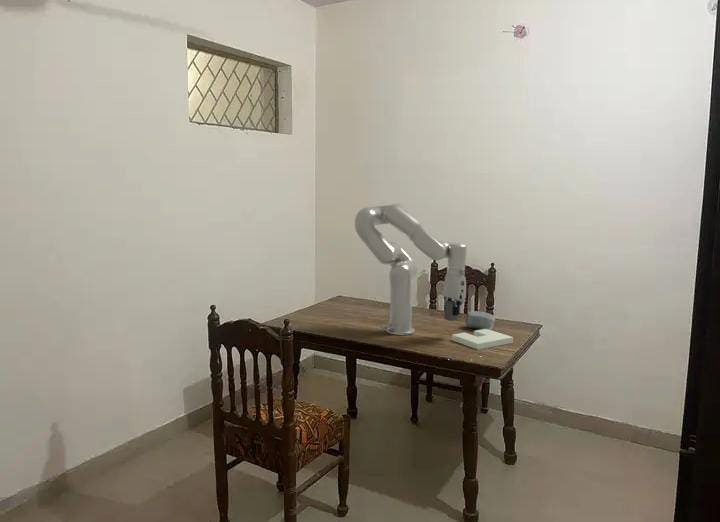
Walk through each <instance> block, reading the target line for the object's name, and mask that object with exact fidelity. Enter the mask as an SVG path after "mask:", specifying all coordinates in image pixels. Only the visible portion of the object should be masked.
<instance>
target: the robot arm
mask: <svg viewBox="0 0 720 522" xmlns="http://www.w3.org/2000/svg"><path fill="white" fill-rule="evenodd" d="M387 224H389V225H391V226H393V228H395V229H396V230H398V231H399V233H402V234H403V235H404V236H405V237H406V238H407V239H408V240H409V241H410V242H411V243H412V244H413V245H414V246H415V247H416V249H418V250H419V251H420V252H421V253H423V254H424V255H425V256H426V257H429V258H430V260H433V261H441V260H443V259H447V266H446V274H445V278H444V281H443V283H444V284H443V288H442V289H443V292H442V293H441V296H442V298H443V299H444V303H446V301H449V300H454V306H453V315H454V316H455V315H458V316H459V315H460V307H462V305H463V304H464V303H465V302H466V298H467V295H466V294H467V280H466V276H465V274H466V272H465V271H466V260H467V250H468V248H467V245H466V244H464V243H457V242H455V243H454V242H453V243H452V242H448V241H443V240H439V241H437V240H436V239H435V238H433V237H432V236H430V235H429V233H427V232H426V230H425V228H424V226H423V224H422V222H420V221H419V220H418V219H416V218H415V217H414V216H413V215H411V214H410V213H409V212H408V210H407V208H406V206H404V205H403V204H401V203H393V204H387V205H379V206H378V205H376V206H367V207H363V208H361V209H360V210H359V211H358V212H357V214H356V216H355V218H354V228H355V232H356V234H357V236H358V237H359V238H360V239H361V241H362V242H363V243H364V245H366V247H367V248H368V249H369V251H370V252H371V253H372V255H373V256H374V257H375V258H376V259H377V261H378V262H379V263H380V264H382V265H386V266H387V265H390V267H391V268H390V270H389V286H390V287H389V288H390V292H389V293H390V294H389V295H390V302H389V303H390V304H389V305H390V307H389V321H387V323H386V324H382V325H380V329H381V330H385V331H386V332H387V333H388V334H390V335H394V336H395V335H396V336H406V335H407V336H409V335H412V334H414V333H415V328H414V327H412V306H413V305H412V303H413V300H412V299H413V298H412V297H413V296H412V295H413V292H412V291H413V287H412V279H414V278H415V277H416V275H417V273H418V267H417V266H416V264H415V262H414V261H413V260H412V258H411V257H410V255H408V253H407V252H406V251H404V248H403V247H401V245H399V244H398V243H396V242H394V241H388V239H386V238H385V237H384V236H383V234H382V233H381V232H380V231H379V230H378V229H377V228H376V227H375V226H377V225H387Z"/></svg>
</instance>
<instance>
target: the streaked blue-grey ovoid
mask: <svg viewBox="0 0 720 522" xmlns="http://www.w3.org/2000/svg"><path fill="white" fill-rule="evenodd" d="M495 321H496V318H495V316H494V315H493V314H491V313H488V312H485V311H479V310H478V311H477V310H471V311H468V312H467V314H466V315H465V326H466V327H468V328H470V329H476V330H482V329H488V330H493V328H494V325H495Z"/></svg>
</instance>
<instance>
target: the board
mask: <svg viewBox="0 0 720 522" xmlns="http://www.w3.org/2000/svg"><path fill="white" fill-rule="evenodd" d="M451 341H453V342H456V343H459V344H460V345H464V346H467V347H470V348H472V349H475V350H483V349H489V348H492V347H493V348H494V347H497V346H498V347H500V346H502V345H509V344H513V343H514V337H513V336H511V335H508V334H505V333H502V332H498V331H495V330H493V329H491V330H488V329H482V330H481V329H476V330H473V334H471V333H468V332H459V333H455V334H451Z"/></svg>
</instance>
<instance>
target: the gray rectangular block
mask: <svg viewBox="0 0 720 522" xmlns="http://www.w3.org/2000/svg"><path fill="white" fill-rule="evenodd" d="M444 303H445V302H444ZM453 306H454V299H452V300H449V301H446V303H445V306H444V316H443V317H444V318H443V320H446V321H448V322H454V321H458V317H459V315H455V316H454V315H453Z"/></svg>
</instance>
